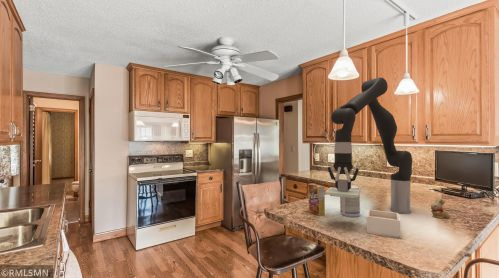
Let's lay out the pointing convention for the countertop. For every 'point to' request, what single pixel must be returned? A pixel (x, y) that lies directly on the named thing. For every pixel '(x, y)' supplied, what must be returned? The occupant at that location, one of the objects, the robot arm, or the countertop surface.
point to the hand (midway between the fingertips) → (343, 189)
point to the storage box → (383, 223)
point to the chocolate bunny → (439, 210)
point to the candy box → (316, 199)
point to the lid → (343, 190)
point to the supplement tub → (350, 205)
